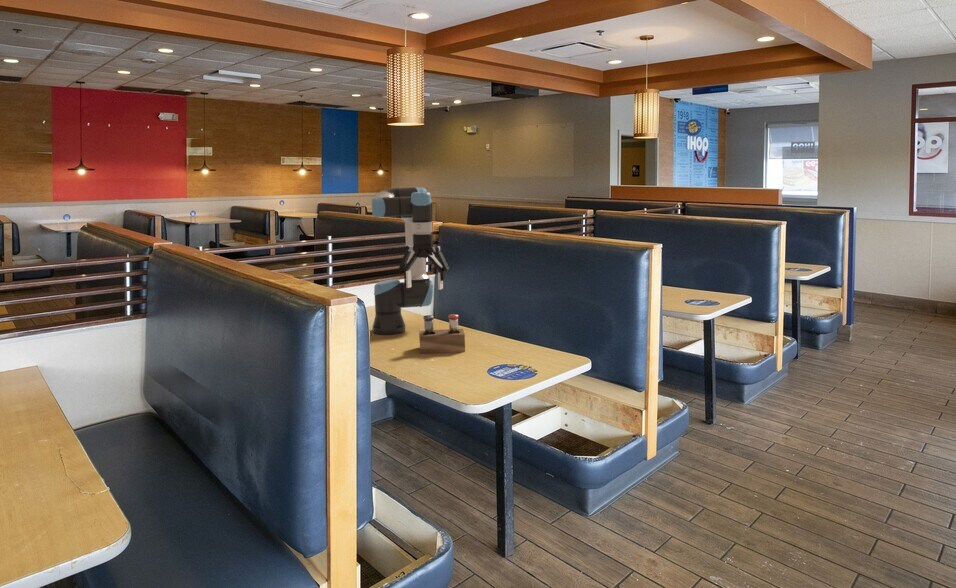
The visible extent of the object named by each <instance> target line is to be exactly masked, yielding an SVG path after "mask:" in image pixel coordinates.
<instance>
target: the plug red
mask: <svg viewBox="0 0 956 588" xmlns="http://www.w3.org/2000/svg"><path fill="white" fill-rule="evenodd" d="M447 318H448V328H449V332H450V334H454V333H458V329H459V314H458V313H456V314H454V313H451V314H448V315H447Z"/></svg>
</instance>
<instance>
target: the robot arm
mask: <svg viewBox="0 0 956 588" xmlns="http://www.w3.org/2000/svg"><path fill="white" fill-rule="evenodd" d="M371 211H372V213H371V214H372V216H373V217H374V218H390V217H391V218H392V217H393V218H394V217H400V218H401V220H402V221H403V222H404V236H405V237H404V238H405V252H404V254H403V257H402V258H401V262H400V264H399V267H398V268H399V270H402V271H403V276H404V277H403V281H400V279H397V278H396V279H395V278H392V279H391V278H390V279H386V280H382V281H379V282H376V283H375V284H374V287H373V288H374V291H373V295H374V309H375V310H374V312H375V314H374V318H373V319H374V320H373V324H372V327H371V328H372V333H374V334H376V335H396V334H400V333H405V331H406V323H405V321H404V318H403V315H402V309H403V308H419V307H420V308H422V307H429V306H431V304H432V302H433V295H434V281H432V279H431V280H430V276H429V275H428V274H427V262H426V259H429V260H430V261H431V263H432V264H433V265H434V266H435V267H436V269H437V271H438V272H437V286H438V288H437V290H440V291H441V290H443V289H444V281H445V279H446V275H445V274H446V272H447V271H449V270H450V266H449V264H448V262H447V261H446V258H445V256H444V254H443V252H442V248H441V246H440V245H437V246H434V245H433V243H434V238H433V236H434V235H433V233H432V232H433V219H432V218H433V217H432V214H433V213H432V195H431V193H430V192H428V191H427V189H426V188H425V187H418V186H417V187H416V186H415V187H396V188H395V187H392V188H391V187H390V188H387V189H383V190H381V191H379V192H378V193H376V194H375V195H374V197H373V198H371ZM433 251H434V253H435V254H434V253H433Z"/></svg>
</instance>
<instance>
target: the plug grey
mask: <svg viewBox="0 0 956 588" xmlns="http://www.w3.org/2000/svg"><path fill="white" fill-rule="evenodd" d="M434 318H435V316H434V315H433V314H431V315H430V314H427V315H423V321H424V322H423V323H424V331H425V335H432V334H434V330H435V329H434Z"/></svg>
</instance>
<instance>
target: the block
mask: <svg viewBox="0 0 956 588" xmlns="http://www.w3.org/2000/svg"><path fill="white" fill-rule="evenodd" d="M418 332H419V333H418V334H419V354H420V355H423V354H424V355H425V354H440V353H441V354H442V353H443V354H444V353H461V352H466V340H465V339H466V338H465V337H466V336H465V335H466V334H465V332H464V328H458V333H454V334H450V332H449V329H434V334H432V335H425V330H418Z"/></svg>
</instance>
